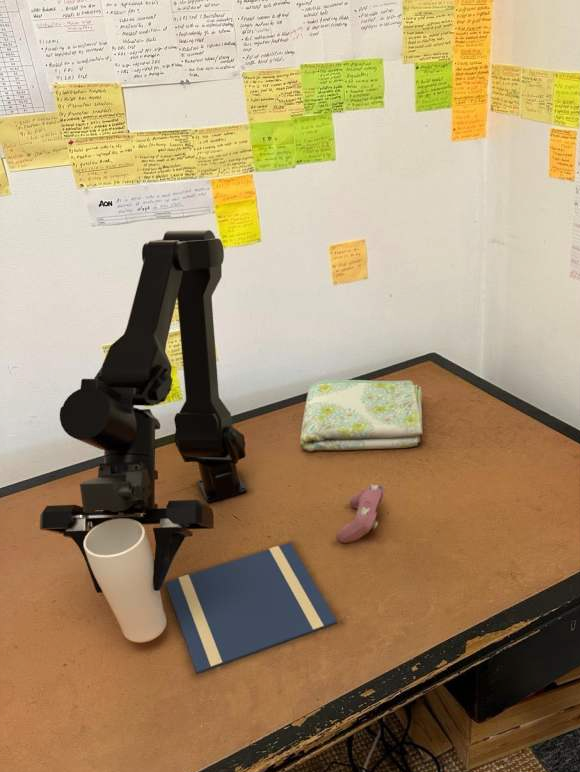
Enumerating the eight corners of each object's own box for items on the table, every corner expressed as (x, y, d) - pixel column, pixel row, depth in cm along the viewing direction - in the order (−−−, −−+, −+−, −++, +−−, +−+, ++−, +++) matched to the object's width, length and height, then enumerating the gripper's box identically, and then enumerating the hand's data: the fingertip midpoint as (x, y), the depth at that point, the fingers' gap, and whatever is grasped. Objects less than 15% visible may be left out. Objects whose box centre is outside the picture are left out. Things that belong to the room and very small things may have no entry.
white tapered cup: (145, 657, 88) (112, 565, 79) (105, 636, 91) (68, 544, 82) (185, 620, 93) (158, 528, 83) (145, 601, 96) (115, 510, 86)
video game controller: (361, 555, 107) (380, 522, 103) (332, 541, 106) (350, 507, 102) (375, 514, 115) (394, 481, 110) (349, 501, 114) (366, 468, 110)
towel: (425, 449, 126) (425, 423, 123) (300, 454, 127) (296, 428, 124) (422, 398, 141) (421, 374, 138) (310, 403, 141) (307, 379, 138)
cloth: (166, 584, 102) (165, 581, 101) (290, 544, 107) (290, 541, 107) (196, 674, 88) (195, 671, 88) (337, 623, 94) (337, 620, 94)
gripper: (16, 447, 81) (11, 592, 79) (186, 440, 80) (186, 586, 78) (64, 467, 92) (61, 595, 90) (214, 461, 91) (215, 589, 89)
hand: (128, 591), depth 86 cm, fingers closed on white tapered cup, 6 cm apart
